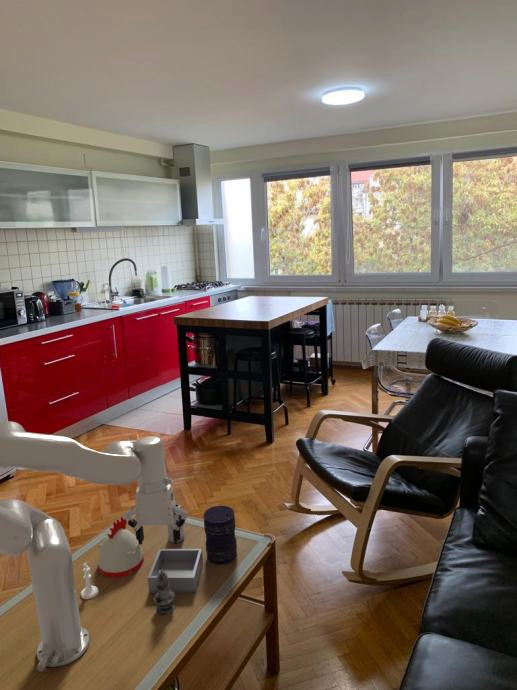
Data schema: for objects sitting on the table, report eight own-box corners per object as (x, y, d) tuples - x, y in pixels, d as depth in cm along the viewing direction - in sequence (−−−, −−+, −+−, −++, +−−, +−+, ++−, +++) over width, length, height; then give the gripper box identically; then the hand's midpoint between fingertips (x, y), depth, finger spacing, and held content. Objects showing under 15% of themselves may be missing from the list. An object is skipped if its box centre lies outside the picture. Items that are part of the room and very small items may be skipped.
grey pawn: (178, 601, 147) (174, 563, 144) (173, 616, 141) (169, 577, 139) (158, 600, 148) (154, 563, 145) (152, 615, 142) (147, 577, 139)
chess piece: (90, 585, 155) (86, 556, 153) (101, 590, 153) (97, 560, 151) (77, 595, 151) (72, 565, 149) (88, 601, 149) (84, 570, 147)
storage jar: (201, 562, 163) (197, 520, 160) (213, 544, 173) (210, 503, 169) (231, 567, 160) (228, 524, 157) (241, 548, 169) (239, 507, 166)
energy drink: (187, 536, 178) (184, 504, 175) (177, 544, 173) (174, 512, 171) (175, 532, 181) (172, 501, 178) (165, 540, 176) (162, 508, 173)
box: (195, 592, 150) (194, 577, 149) (149, 592, 151) (147, 577, 150) (203, 562, 163) (201, 548, 162) (160, 563, 164) (159, 549, 163)
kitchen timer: (152, 556, 168) (148, 514, 165) (123, 582, 156) (117, 537, 153) (119, 545, 175) (114, 505, 171) (89, 570, 163) (83, 527, 159)
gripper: (187, 475, 140) (193, 532, 144) (124, 477, 141) (131, 533, 145) (182, 489, 132) (188, 549, 136) (116, 491, 133) (123, 550, 137)
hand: (159, 541), depth 140 cm, fingers open, 9 cm apart
